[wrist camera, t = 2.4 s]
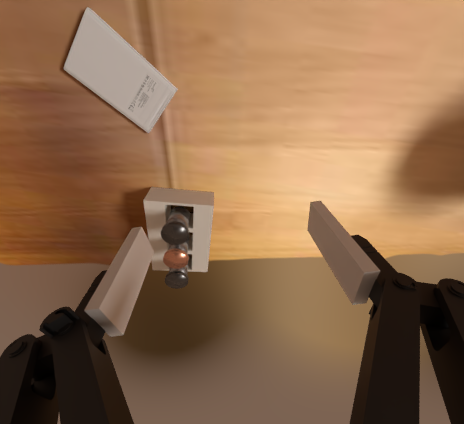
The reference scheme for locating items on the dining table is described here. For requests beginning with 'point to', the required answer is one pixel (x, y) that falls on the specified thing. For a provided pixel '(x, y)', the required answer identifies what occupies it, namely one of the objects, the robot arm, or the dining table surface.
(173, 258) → the plunger
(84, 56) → the external hard drive
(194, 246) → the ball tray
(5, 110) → the dining table surface
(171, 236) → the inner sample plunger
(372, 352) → the robot arm
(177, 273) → the plunger
